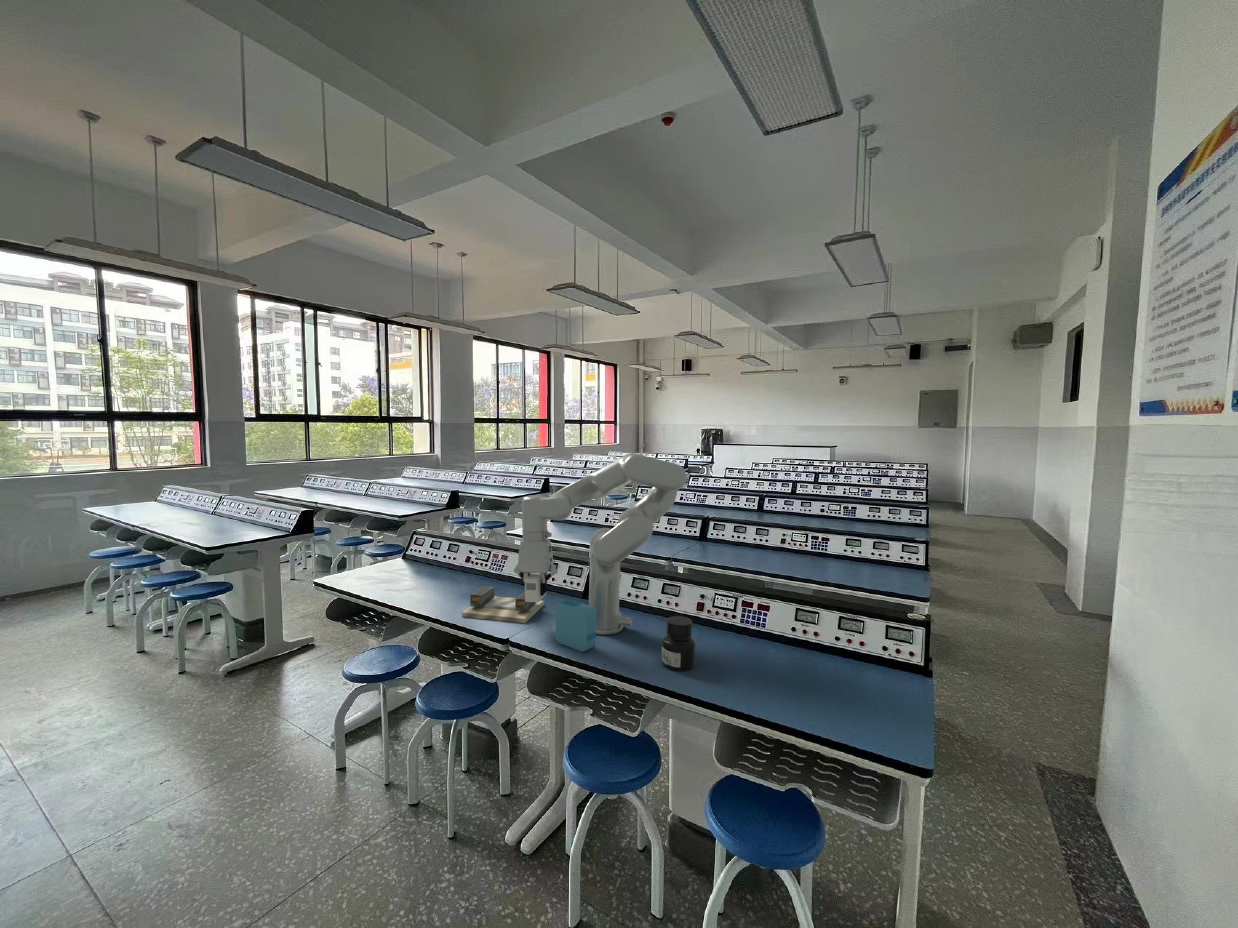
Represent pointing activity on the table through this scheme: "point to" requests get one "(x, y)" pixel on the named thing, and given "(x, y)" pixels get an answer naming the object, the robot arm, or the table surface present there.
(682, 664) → the ink bottle
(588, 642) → the light blue flat block
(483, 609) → the rail board
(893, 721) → the table surface
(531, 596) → the block
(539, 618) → the table surface
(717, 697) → the table surface
